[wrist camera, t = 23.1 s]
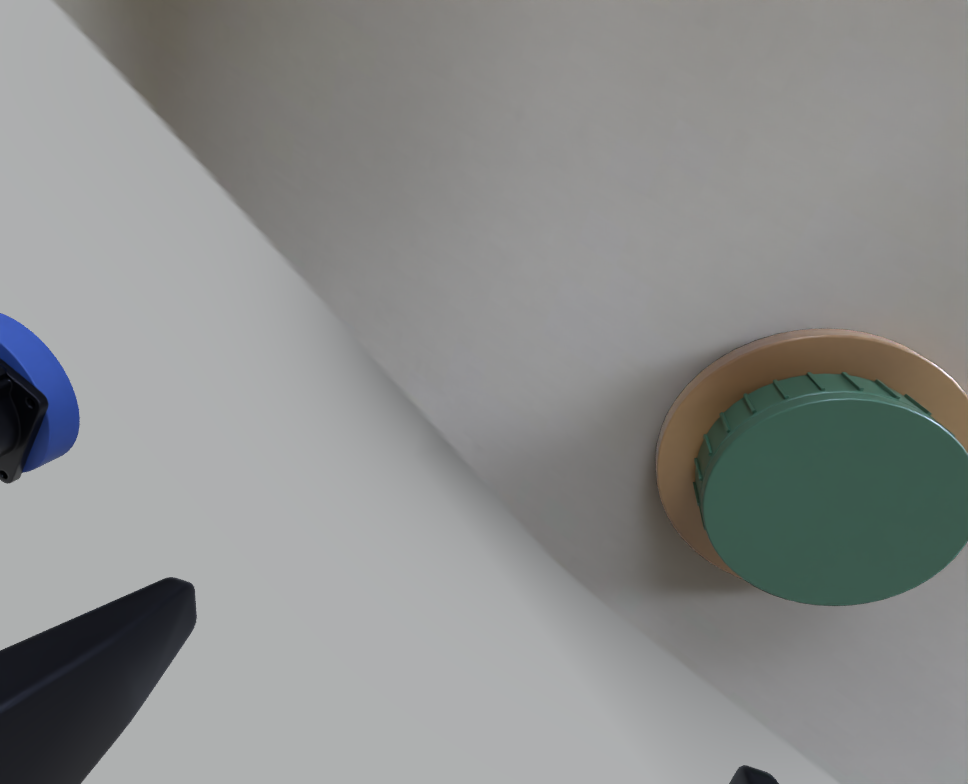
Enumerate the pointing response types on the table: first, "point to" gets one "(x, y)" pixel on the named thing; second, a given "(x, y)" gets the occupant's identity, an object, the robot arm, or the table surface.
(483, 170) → the table surface
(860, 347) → the coaster
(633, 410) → the table surface
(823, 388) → the jar lid
